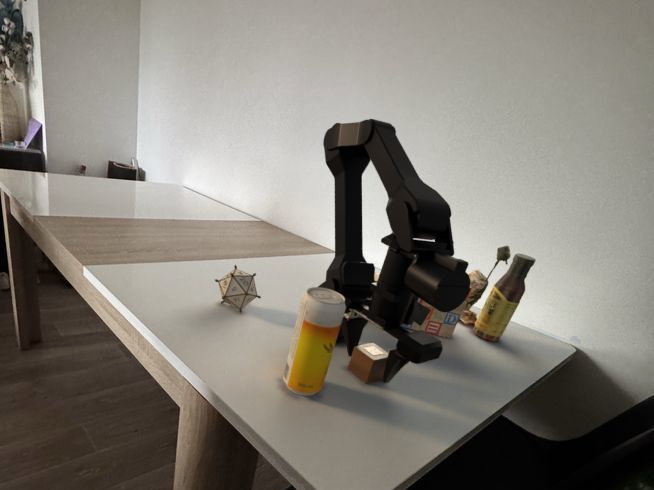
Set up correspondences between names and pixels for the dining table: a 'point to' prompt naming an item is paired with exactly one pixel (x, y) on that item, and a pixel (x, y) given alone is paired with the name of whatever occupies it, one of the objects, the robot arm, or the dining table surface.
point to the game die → (238, 288)
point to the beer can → (314, 340)
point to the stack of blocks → (437, 318)
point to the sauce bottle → (503, 299)
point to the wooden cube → (368, 362)
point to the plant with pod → (480, 286)
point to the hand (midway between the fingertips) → (367, 368)
